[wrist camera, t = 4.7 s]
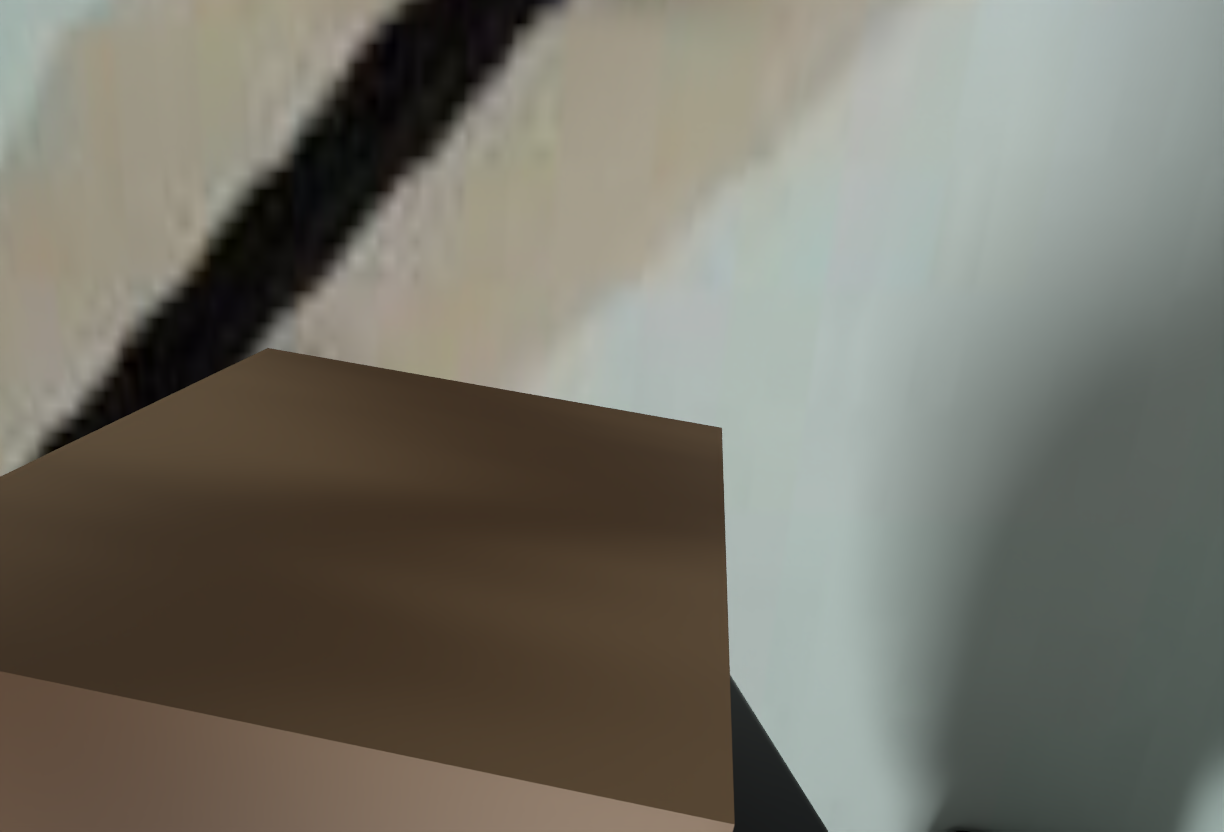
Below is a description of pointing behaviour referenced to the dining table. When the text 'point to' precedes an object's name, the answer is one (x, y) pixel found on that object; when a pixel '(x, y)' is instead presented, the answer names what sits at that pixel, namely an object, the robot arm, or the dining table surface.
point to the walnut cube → (366, 614)
